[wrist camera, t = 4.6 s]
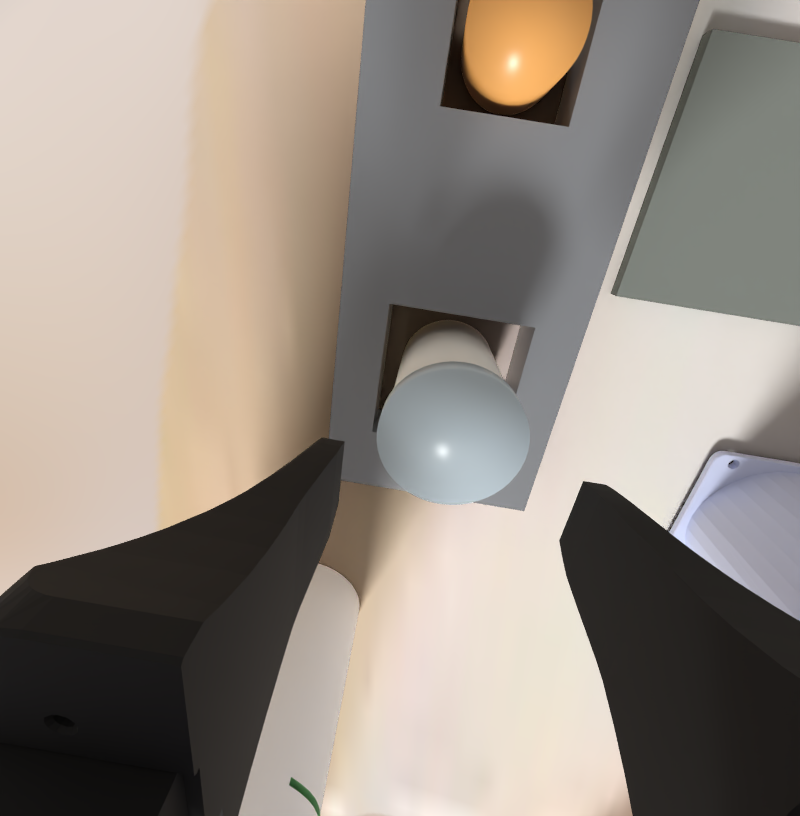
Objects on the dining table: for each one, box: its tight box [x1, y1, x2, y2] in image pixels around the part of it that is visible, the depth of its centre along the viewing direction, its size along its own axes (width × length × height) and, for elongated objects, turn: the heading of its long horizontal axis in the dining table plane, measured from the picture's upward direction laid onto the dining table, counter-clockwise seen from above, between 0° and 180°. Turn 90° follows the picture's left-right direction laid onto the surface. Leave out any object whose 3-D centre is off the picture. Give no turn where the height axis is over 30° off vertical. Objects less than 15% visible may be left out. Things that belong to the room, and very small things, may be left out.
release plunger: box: [461, 0, 593, 115], centre depth 14 cm, size 4×4×3 cm
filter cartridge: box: [377, 320, 530, 505], centre depth 17 cm, size 5×5×8 cm
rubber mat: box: [611, 29, 800, 326], centre depth 16 cm, size 9×9×1 cm
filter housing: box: [329, 0, 700, 511], centre depth 17 cm, size 10×22×2 cm, turn 172°
